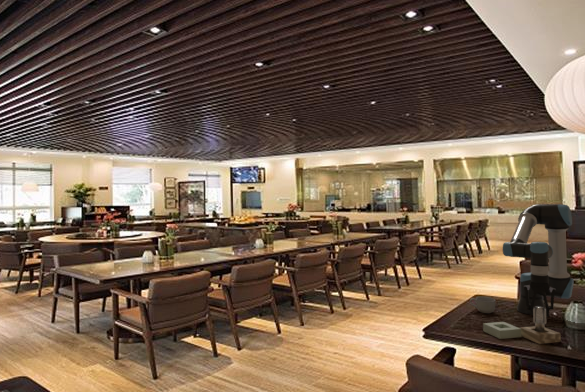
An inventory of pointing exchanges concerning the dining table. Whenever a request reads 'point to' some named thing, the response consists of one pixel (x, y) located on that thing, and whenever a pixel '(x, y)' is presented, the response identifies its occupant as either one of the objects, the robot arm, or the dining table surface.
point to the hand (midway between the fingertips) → (539, 322)
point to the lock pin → (539, 319)
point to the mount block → (540, 335)
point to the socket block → (502, 330)
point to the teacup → (484, 304)
